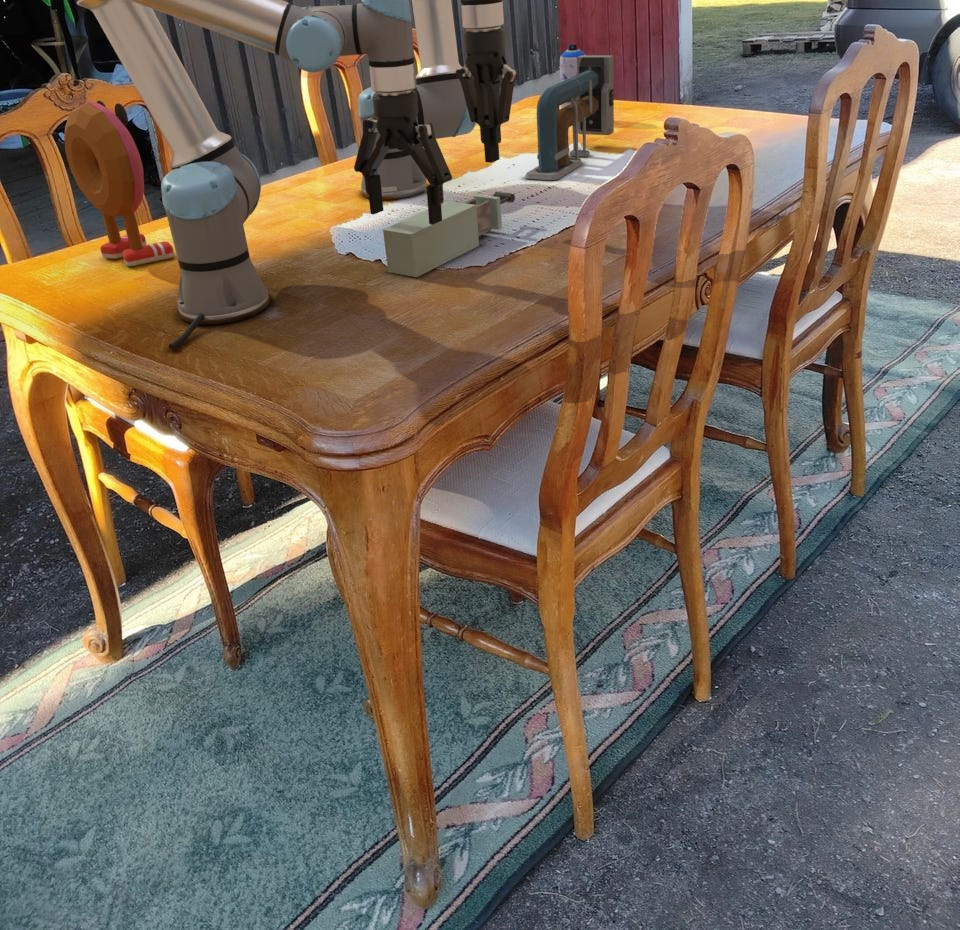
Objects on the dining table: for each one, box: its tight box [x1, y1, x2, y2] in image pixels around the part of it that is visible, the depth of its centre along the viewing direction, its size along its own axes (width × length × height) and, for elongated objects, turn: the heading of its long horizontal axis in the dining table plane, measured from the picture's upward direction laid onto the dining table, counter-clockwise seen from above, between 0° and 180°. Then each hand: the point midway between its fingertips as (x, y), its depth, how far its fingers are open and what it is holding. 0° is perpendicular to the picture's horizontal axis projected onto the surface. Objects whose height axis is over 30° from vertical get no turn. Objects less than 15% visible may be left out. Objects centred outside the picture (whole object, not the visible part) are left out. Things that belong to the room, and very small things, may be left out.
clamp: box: [524, 54, 615, 181], centre depth 231 cm, size 35×9×21 cm, turn 151°
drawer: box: [464, 191, 516, 237], centre depth 187 cm, size 24×6×6 cm, turn 144°
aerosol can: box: [559, 43, 586, 109], centre depth 273 cm, size 8×8×20 cm
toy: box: [64, 100, 175, 267], centre depth 188 cm, size 21×10×30 cm, turn 47°
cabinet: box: [382, 200, 480, 278], centre depth 179 cm, size 19×7×8 cm, turn 144°
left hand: (405, 217), depth 172 cm, fingers open, 13 cm apart
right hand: (492, 160), depth 188 cm, fingers closed
